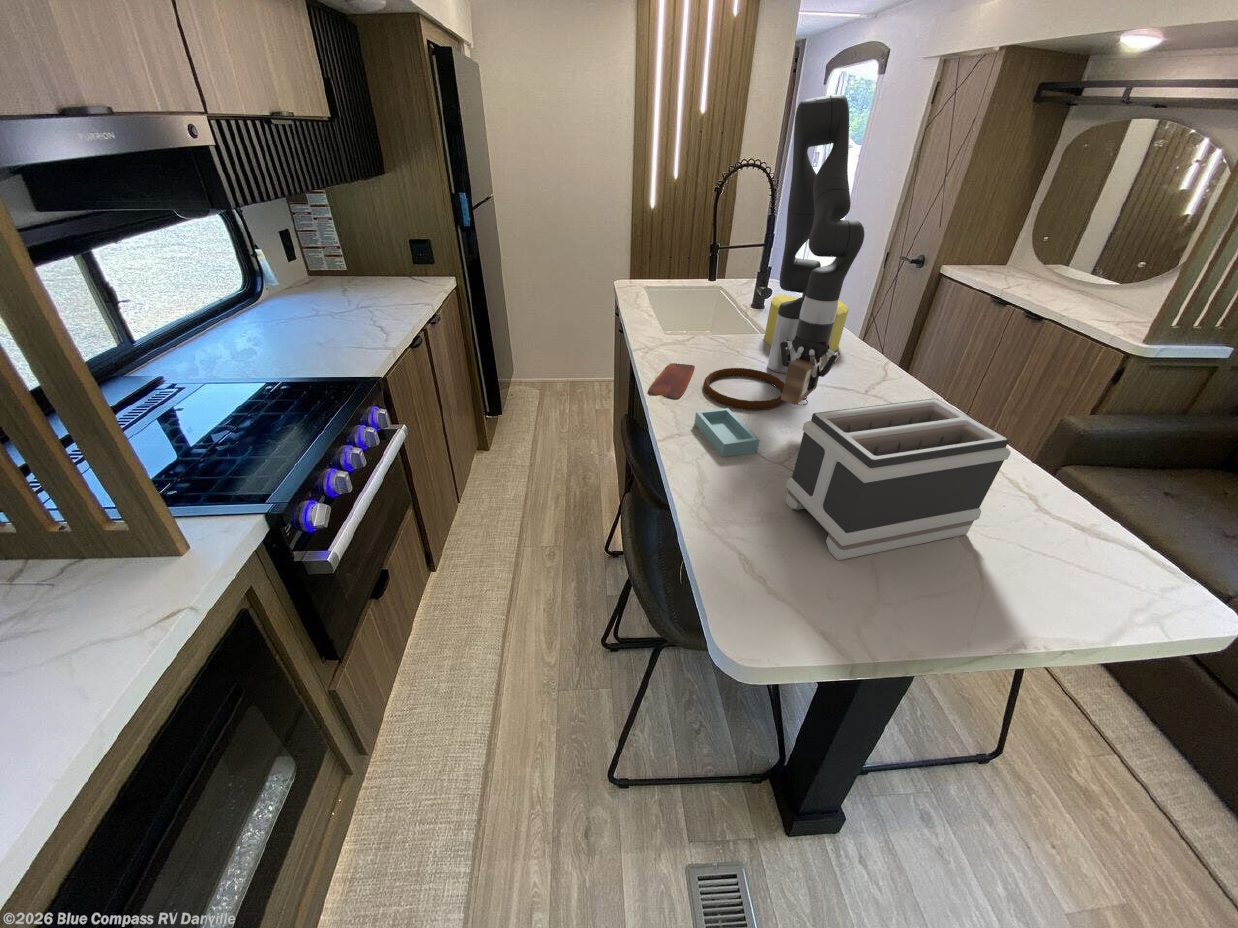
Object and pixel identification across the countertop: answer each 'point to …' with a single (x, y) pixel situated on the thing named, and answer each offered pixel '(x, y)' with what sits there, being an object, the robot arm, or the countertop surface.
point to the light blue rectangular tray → (726, 432)
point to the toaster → (894, 474)
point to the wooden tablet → (672, 381)
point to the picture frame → (798, 381)
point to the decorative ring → (744, 403)
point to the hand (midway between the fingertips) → (800, 386)
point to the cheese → (781, 298)
